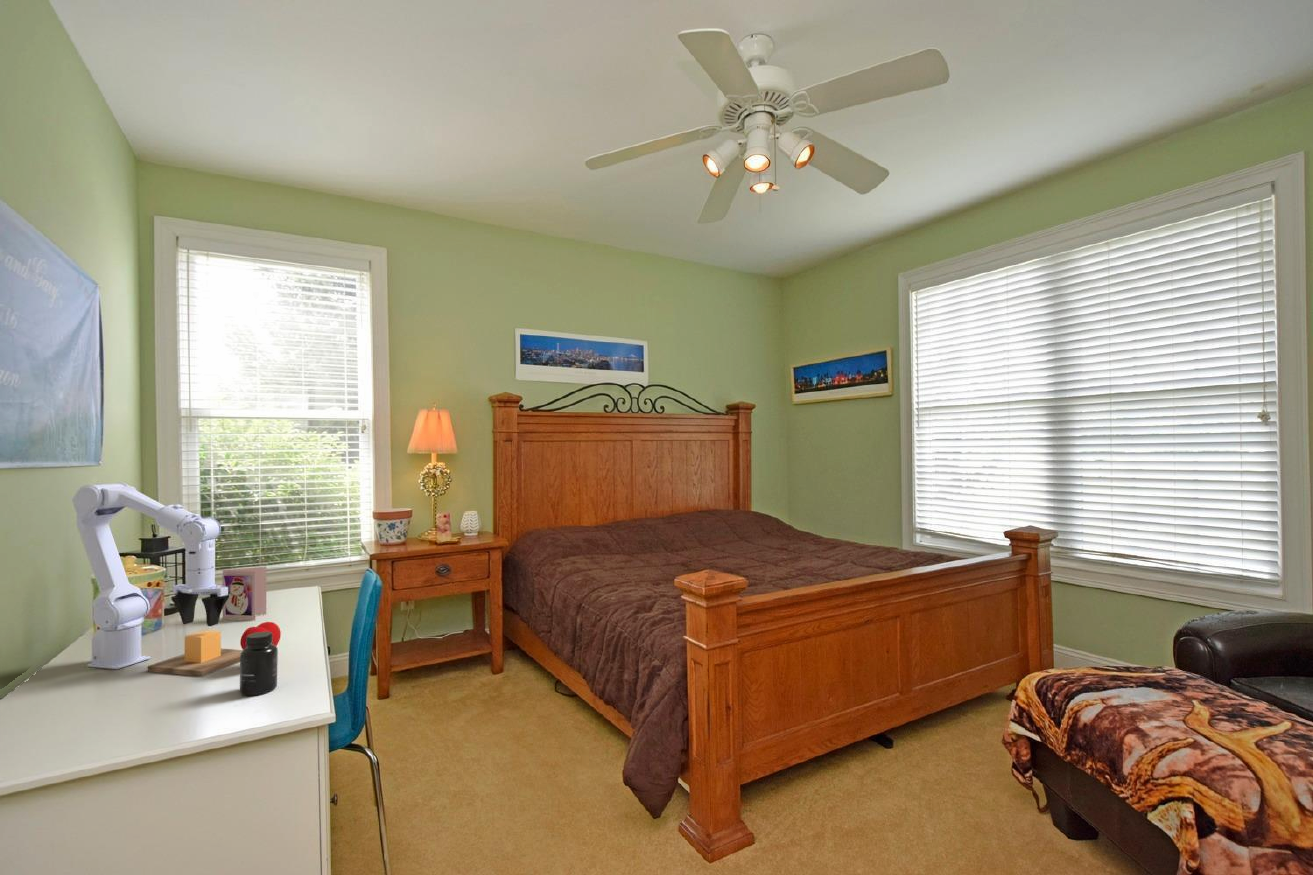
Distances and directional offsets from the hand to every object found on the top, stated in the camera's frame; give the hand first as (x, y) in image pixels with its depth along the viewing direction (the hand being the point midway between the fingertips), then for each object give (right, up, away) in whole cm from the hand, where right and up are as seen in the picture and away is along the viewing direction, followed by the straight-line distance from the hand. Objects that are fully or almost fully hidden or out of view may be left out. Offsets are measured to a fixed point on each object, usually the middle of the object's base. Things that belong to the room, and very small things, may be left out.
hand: (200, 624), depth 150 cm
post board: (+1, -9, -1) cm, 9 cm away
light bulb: (+17, -9, -4) cm, 20 cm away
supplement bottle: (+26, -9, -18) cm, 33 cm away
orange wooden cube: (+1, -8, -1) cm, 8 cm away
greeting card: (-16, -10, +40) cm, 44 cm away
